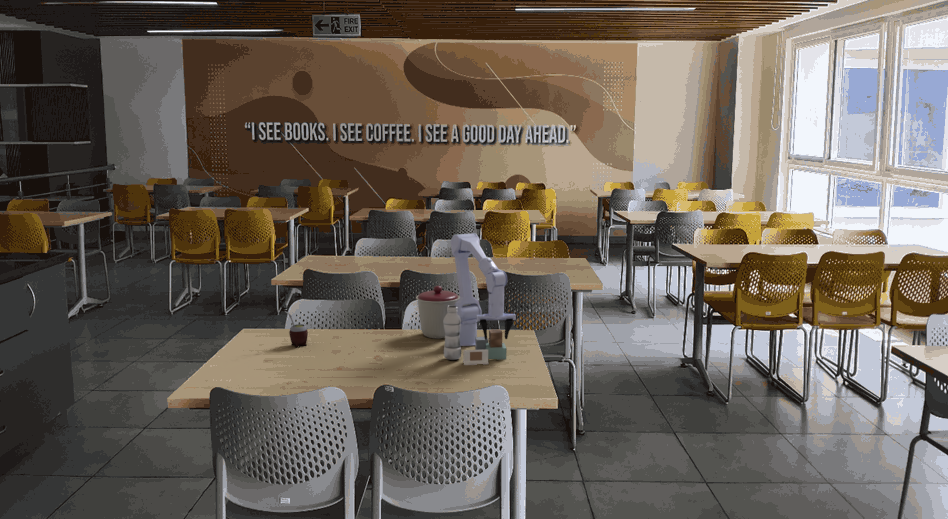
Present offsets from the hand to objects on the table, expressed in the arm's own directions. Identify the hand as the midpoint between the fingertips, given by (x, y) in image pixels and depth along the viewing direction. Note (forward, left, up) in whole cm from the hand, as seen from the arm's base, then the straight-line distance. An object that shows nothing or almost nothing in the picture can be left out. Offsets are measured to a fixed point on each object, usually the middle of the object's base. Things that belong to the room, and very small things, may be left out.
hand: (495, 338), depth 267 cm
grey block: (-4, +6, -7) cm, 10 cm away
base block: (0, 0, -7) cm, 7 cm away
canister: (-20, +32, -7) cm, 38 cm away
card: (-8, -8, -7) cm, 13 cm away
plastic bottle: (-16, -2, -7) cm, 18 cm away
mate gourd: (-76, +22, -7) cm, 79 cm away
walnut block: (0, 0, -3) cm, 3 cm away
